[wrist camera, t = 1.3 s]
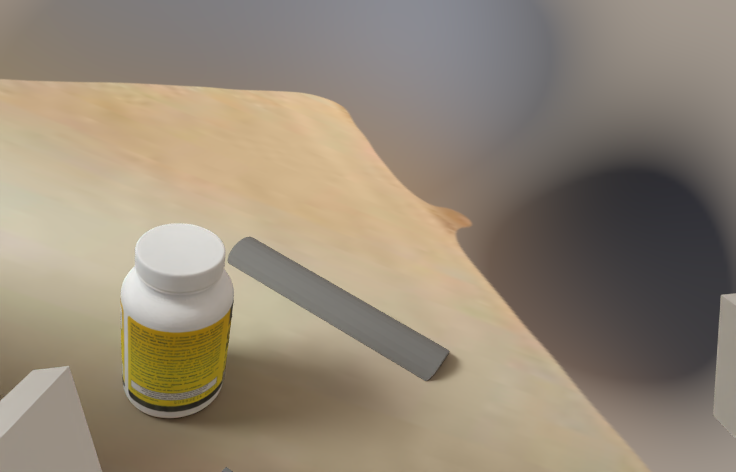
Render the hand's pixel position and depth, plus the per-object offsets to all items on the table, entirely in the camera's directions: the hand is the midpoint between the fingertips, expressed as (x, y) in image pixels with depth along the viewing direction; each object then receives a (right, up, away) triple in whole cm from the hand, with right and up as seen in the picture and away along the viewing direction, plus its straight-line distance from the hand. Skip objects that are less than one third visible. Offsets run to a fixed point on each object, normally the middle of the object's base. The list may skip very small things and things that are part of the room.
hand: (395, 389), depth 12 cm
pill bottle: (-13, -7, +26) cm, 30 cm away
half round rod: (-3, -3, +36) cm, 36 cm away
